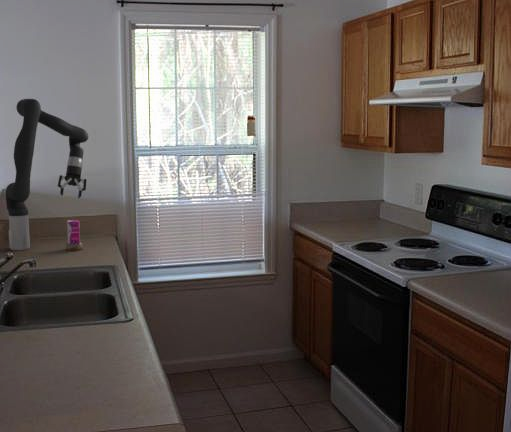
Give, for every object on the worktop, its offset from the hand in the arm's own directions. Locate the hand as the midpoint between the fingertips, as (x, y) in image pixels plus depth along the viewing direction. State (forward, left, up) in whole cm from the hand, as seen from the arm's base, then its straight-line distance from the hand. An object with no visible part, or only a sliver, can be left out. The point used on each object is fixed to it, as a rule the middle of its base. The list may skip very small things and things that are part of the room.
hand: (70, 196), depth 353 cm
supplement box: (-5, -18, -22) cm, 28 cm away
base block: (-5, -18, -24) cm, 31 cm away
